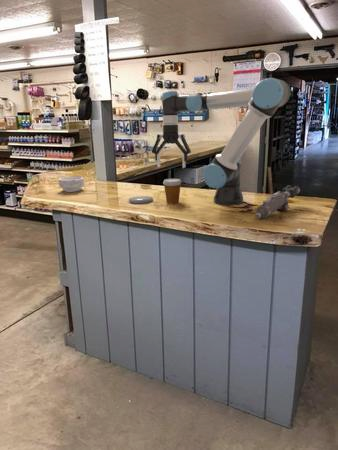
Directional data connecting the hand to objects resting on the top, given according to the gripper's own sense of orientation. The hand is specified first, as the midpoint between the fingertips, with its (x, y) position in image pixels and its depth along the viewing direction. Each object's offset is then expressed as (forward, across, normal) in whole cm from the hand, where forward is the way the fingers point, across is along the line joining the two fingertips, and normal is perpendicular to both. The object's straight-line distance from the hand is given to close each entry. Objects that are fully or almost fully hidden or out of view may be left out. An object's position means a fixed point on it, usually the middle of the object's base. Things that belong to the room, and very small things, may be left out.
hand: (171, 167), depth 189 cm
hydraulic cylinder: (+18, -53, +7) cm, 57 cm away
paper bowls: (+20, +72, -16) cm, 76 cm away
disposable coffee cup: (+19, 0, 0) cm, 19 cm away
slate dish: (+19, +18, +1) cm, 26 cm away
